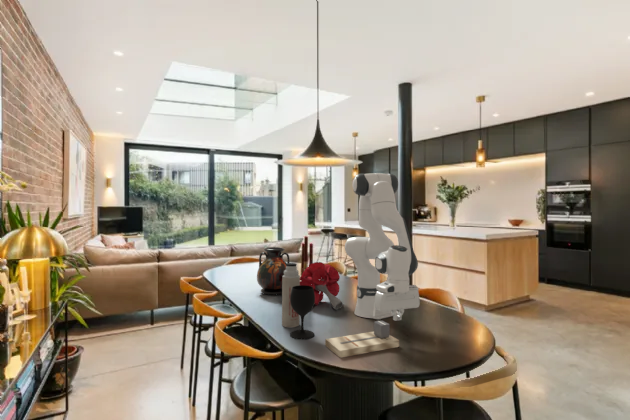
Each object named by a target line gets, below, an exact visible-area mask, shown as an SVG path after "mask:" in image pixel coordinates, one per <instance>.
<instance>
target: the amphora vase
mask: <svg viewBox="0 0 630 420" xmlns="http://www.w3.org/2000/svg"><path fill="white" fill-rule="evenodd" d="M263 251H264V252H263ZM263 251H262V252H260V254H259V259H258V270H257V274H256V282H257V284H258V285H259V286H260V288H261V289H260V293H261V294H262V295H264V296H265V295H266V296H282V276H283V275H284V271H285V270H286V264H287V263H290V255H289V253H288V252H284V251H285V248H283V247H279V246H277V247H276V246H273V247H272V246H271V247H264V249H263ZM263 255H265V258H264V260H263V261H262V257H263ZM284 256H286V258H287V261H285V259H284V258H283V257H284Z"/></svg>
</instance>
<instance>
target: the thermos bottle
mask: <svg viewBox="0 0 630 420" xmlns="http://www.w3.org/2000/svg"><path fill="white" fill-rule="evenodd" d="M286 263H287V262H286ZM299 273H300V272H299V270H297V263H296V262H289V263H287V264H286V270H285V271H284V275H283V276H282V295H281V298H282V299H281V301H282V302H281V325H282V327H285V328H297V327H299V326H300V315H299V314H297V313H296V312H295V311H294V310H293V308H292V306H291V302H290V295H291V291H292V288H293V287H294V286H299V285H300V281H301V280H300V277H301V276H300V275H299Z"/></svg>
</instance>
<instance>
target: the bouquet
mask: <svg viewBox="0 0 630 420" xmlns="http://www.w3.org/2000/svg"><path fill="white" fill-rule="evenodd" d="M301 273H302V274H301V276H300V285H307V286H312V287H313V289H314V294H315V303H314V306H318V305H319V303H321V302H322V301H323V299H324V295H325V296H326V297H327V299H328V300H329V302H330V304H331V306H332V308H333V309H334V310H336V311H337V310H340V309H341V308H342V307H343V301H342V300H340V298H338V297H337V296H338V294H339V292H340V285H339V281H340V279H341V277H340V274H339V272H338V270H337V269H336V268H335V267H334V266H332V265H330V264H329V263H326V264H325V263H323V262H320V261H319V262H317V261H315V262H312V263H309V264H308V266H307V267H306V268H305V269H304V270H303V271H302V272H301Z"/></svg>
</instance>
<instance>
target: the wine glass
mask: <svg viewBox="0 0 630 420" xmlns="http://www.w3.org/2000/svg"><path fill="white" fill-rule="evenodd" d="M290 302H291V306H292V308H293V310H294V311H295V312H296V313H297V314H299V317H300V329H296V330H293V331H290V333H289V336H290V337H291V338H292V339H294V340H310V339H312V338H314V337H315V332H313V331H312V330H308V329H304V322H305V321H304V320H305V316H306V315H308V314H309V313H310V312H311V311H312V309H313V308H314V306H315V304H314V303H315V294H314V289H313V287H312V286H307V285H299V286H294V287H293V288H292V291H291V295H290Z"/></svg>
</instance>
